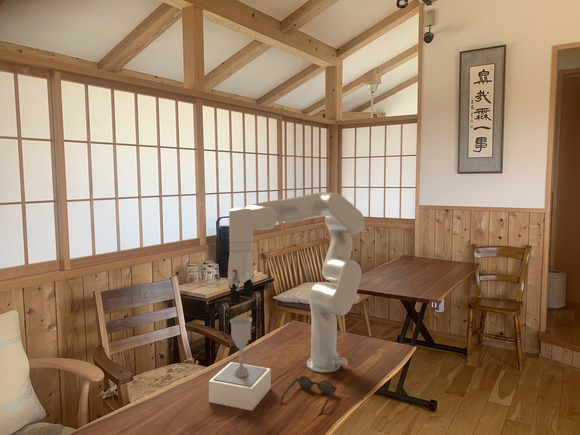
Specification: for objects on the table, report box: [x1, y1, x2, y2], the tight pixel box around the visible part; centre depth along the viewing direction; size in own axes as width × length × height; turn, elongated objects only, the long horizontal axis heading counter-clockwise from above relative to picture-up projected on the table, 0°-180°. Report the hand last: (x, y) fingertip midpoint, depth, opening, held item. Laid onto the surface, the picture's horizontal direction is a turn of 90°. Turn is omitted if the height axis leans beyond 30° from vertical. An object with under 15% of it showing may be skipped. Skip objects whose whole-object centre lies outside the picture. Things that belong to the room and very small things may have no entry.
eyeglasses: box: [279, 375, 338, 417], centre depth 143 cm, size 15×15×5 cm
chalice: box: [229, 316, 253, 377], centre depth 145 cm, size 7×7×18 cm
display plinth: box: [208, 361, 272, 411], centre depth 146 cm, size 15×15×7 cm
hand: (242, 298), depth 144 cm, fingers open, 9 cm apart
